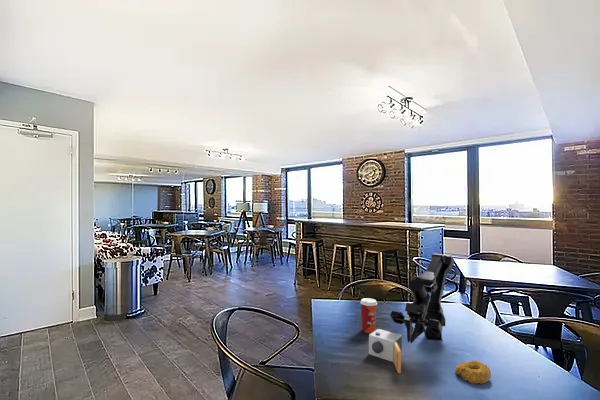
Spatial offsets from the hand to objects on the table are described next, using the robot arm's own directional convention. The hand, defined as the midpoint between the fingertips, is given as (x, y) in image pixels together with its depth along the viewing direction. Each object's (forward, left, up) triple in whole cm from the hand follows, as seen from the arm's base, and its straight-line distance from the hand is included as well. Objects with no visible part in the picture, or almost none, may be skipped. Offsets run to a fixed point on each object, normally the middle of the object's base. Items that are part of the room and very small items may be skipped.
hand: (409, 342), depth 125 cm
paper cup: (+16, -26, -7) cm, 31 cm away
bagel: (-20, +6, -7) cm, 22 cm away
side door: (+5, +6, -7) cm, 11 cm away
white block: (+9, -3, -7) cm, 12 cm away
